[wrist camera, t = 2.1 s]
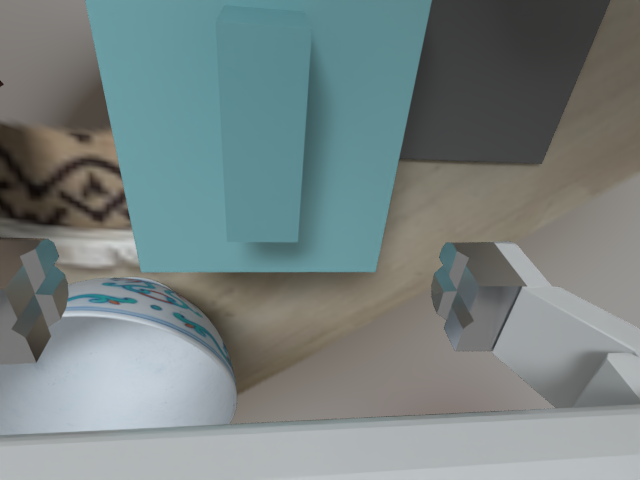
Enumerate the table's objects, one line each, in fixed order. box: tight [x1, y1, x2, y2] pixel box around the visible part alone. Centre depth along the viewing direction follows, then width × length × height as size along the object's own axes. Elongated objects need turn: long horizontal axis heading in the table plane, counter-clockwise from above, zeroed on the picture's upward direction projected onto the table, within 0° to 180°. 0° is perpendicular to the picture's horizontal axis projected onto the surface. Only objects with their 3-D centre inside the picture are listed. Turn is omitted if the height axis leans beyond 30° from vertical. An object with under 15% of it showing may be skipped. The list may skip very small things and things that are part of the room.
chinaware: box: [0, 277, 237, 435], centre depth 28 cm, size 15×15×8 cm
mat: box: [399, 0, 610, 164], centre depth 23 cm, size 12×11×1 cm
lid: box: [85, 0, 432, 272], centre depth 15 cm, size 15×11×6 cm
